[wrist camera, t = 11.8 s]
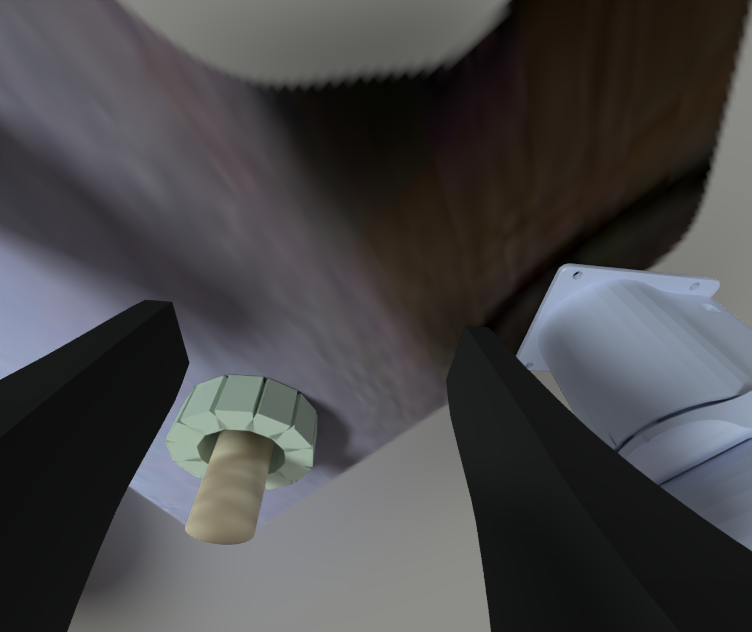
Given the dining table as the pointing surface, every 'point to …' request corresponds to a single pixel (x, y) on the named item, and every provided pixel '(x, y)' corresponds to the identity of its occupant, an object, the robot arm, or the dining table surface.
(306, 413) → the pale green segmented ring
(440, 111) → the dining table surface
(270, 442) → the beige cylinder
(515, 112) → the dining table surface
